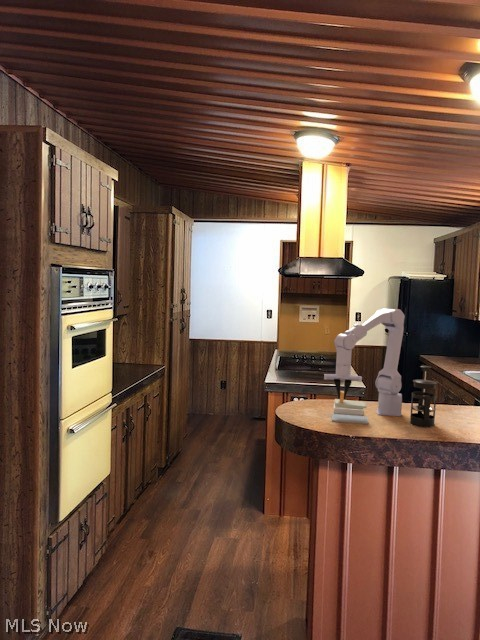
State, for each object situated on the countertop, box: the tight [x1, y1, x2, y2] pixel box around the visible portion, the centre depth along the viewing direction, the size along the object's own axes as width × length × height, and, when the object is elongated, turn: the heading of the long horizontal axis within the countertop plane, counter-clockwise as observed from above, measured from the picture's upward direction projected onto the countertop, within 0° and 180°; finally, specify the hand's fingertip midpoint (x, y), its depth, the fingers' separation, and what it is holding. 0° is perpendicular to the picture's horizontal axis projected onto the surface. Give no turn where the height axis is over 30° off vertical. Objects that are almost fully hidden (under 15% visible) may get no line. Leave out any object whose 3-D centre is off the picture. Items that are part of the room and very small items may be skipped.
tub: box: [332, 403, 365, 416], centre depth 223 cm, size 12×8×2 cm, turn 81°
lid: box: [334, 390, 367, 410], centre depth 212 cm, size 12×8×6 cm, turn 81°
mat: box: [330, 413, 370, 425], centre depth 213 cm, size 14×10×1 cm
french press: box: [409, 365, 438, 428], centre depth 209 cm, size 12×9×23 cm
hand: (341, 398), depth 212 cm, fingers closed on lid
